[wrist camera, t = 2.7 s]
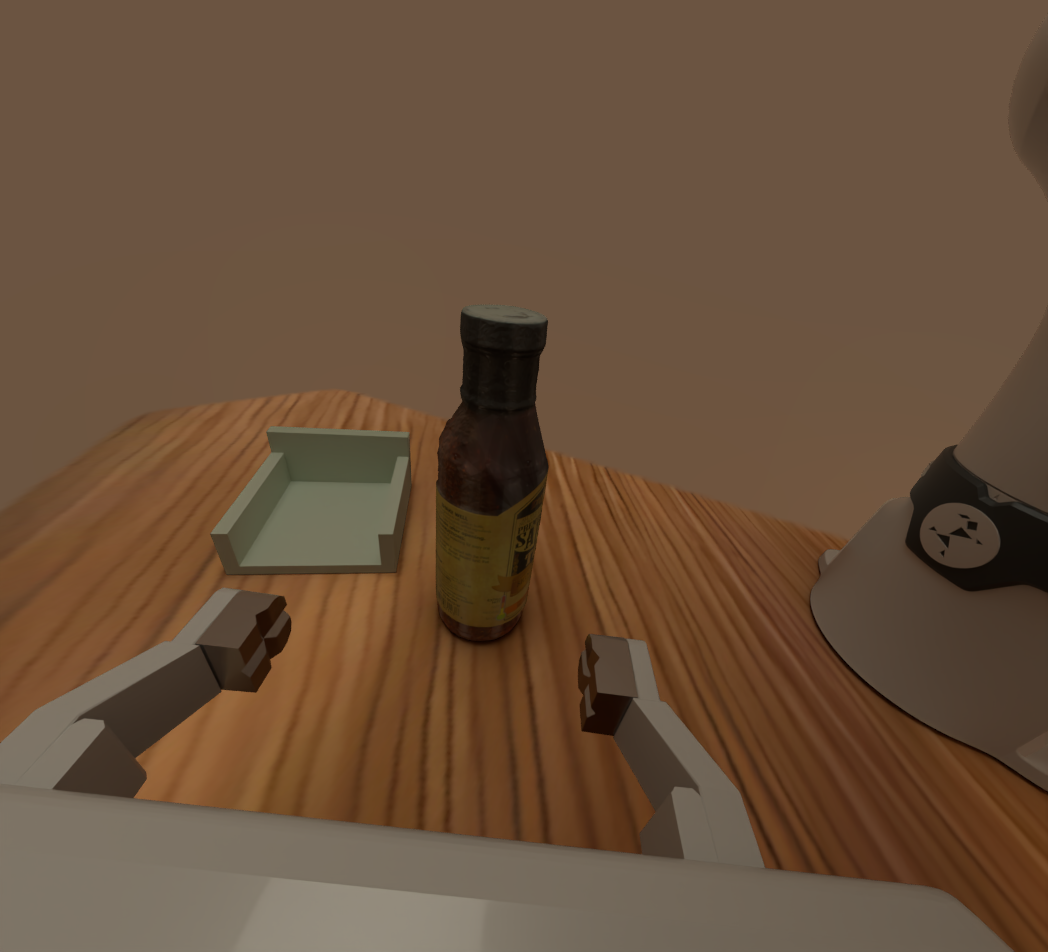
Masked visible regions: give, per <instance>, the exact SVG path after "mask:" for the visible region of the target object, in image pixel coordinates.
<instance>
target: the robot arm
mask: <svg viewBox="0 0 1048 952" xmlns="http://www.w3.org/2000/svg"><path fill="white" fill-rule="evenodd" d="M1008 118H1009V119H1008V124H1009V131H1010V138H1011V141H1012V144H1013V147H1014V150H1015V152H1016V154H1017V155H1018V157H1019V159H1020V161H1021V162H1022V163H1023V164H1024V166H1026V168H1027V169H1028V170H1029V171H1030V172H1031V174H1032V175H1033V176H1034V178H1035V179H1036V181H1037V183H1038V184H1039V186H1040V187H1041V189H1042V190H1043V192H1044V195H1045V197H1046V199H1047V201H1048V14H1047V15H1046V17H1045V19H1044V20H1043V22H1042V24H1041V25H1040V27H1039V28H1038V30H1037V32H1036V33H1035V35H1034V37H1033V39H1032V41H1031V43H1030V44H1029V46H1028V48H1027V50H1026V53H1025V55H1024V57H1023V59H1022V62H1021V64H1020V67H1019V70H1018V72H1017V75H1016V78H1015V81H1014V84H1013V88H1012V93H1011V98H1010V103H1009V117H1008ZM818 562H819V568H820V572H821V575H820V578H819V580H818V581H817V582H816V583H815V585H814V586H813V588H812V591H811V597H810V601H811V607H812V611H813V614H814V617H815V619H816V621H817V623H818V626H819V627H820V629H821V631H822V632H823V634H824V635H825V637H826V638H827V640H828V641H829V643H830V644H831V645H832V646H833V648H834V649H835V650H836V651H837V653H838V654H839V655H840V656H841V657H842V658H843V659H844V660H845V662H846V663H847V664H848V665H849V666H850V667H851V668H852V669H853V670H854V671H855V672H856V673H858V674H859V675H860V676H861V677H862V678H863V679H864V680H865V681H866V682H868V683H869V684H870V685H871V686H872V687H873V688H875V689H876V690H877V691H878V692H880V693H881V694H882V695H883V696H885V697H886V698H887V699H889V700H890V701H892V702H893V703H894V704H896V705H897V706H899V707H900V708H901V709H903V710H904V711H906V712H907V713H909V714H911V715H912V716H914V717H915V718H917V719H919V720H920V721H922V722H924V723H926V724H927V725H929V726H931V727H933V728H935V729H936V730H938V731H940V732H942V733H944V734H946V735H948V736H950V737H952V738H955V739H957V740H959V741H961V742H964V743H966V744H968V745H971V746H973V747H975V748H977V749H980V750H982V751H984V752H986V753H988V754H990V755H992V756H993V757H995V758H997V759H999V760H1000V761H1002V762H1003V763H1005V764H1006V765H1008V766H1009V767H1011V768H1012V769H1014V770H1015V771H1017V772H1018V773H1019V774H1021V775H1022V776H1024V777H1025V778H1027V779H1028V780H1030V781H1031V782H1033V783H1035V784H1036V785H1038V786H1039V787H1041V788H1042V789H1044V790H1046V791H1047V792H1048V306H1047V308H1046V311H1045V313H1044V316H1043V319H1042V320H1041V323H1040V325H1039V327H1038V329H1037V331H1036V333H1035V334H1034V337H1033V338H1032V340H1031V342H1030V344H1029V345H1028V347H1027V349H1026V350H1025V351H1024V354H1023V355H1022V356H1021V358H1020V359H1019V361H1018V362H1017V364H1016V365H1015V367H1014V369H1013V370H1012V372H1011V373H1010V375H1009V376H1008V377H1007V379H1006V380H1005V382H1004V383H1003V385H1002V386H1001V388H1000V389H999V391H998V392H997V394H996V395H995V396H994V398H993V399H992V401H991V402H990V403H989V405H988V406H987V407H986V409H985V410H984V412H983V413H982V414H981V416H980V417H979V419H978V420H977V421H976V422H975V424H974V425H973V426H972V428H971V429H970V430H969V431H968V433H967V434H966V435H965V437H964V438H963V439H962V440H961V442H960V443H959V444H958V445H954V446H950V447H947V448H945V449H944V450H943V451H942V453H941V454H940V455H939V456H938V457H937V458H936V459H935V460H934V461H932V462H931V463H929V465H928V466H927V467H926V468H925V470H924V471H923V472H922V474H921V478H920V479H919V480H918V481H917V483H916V484H915V485H914V487H913V488H912V489H911V492H910V497H902V498H897V499H896V498H893V499H890V500H888V501H887V502H885V503H884V504H883V505H882V506H881V507H880V508H879V509H878V510H877V511H876V512H875V514H874V515H873V516H872V517H871V518H870V519H869V520H868V521H867V522H866V523H865V524H864V525H863V526H862V527H861V529H860V530H859V531H858V532H857V533H856V534H855V535H854V536H853V537H852V539H850V541H849V542H848V543H847V544H846V545H845V546H844V547H843V548H842V549H841V550H833V549H829V550H826V551H825V552H824V553H823V554H822V555H821V556H820V557H819V561H818ZM286 605H287V604H286V601H285V598H284V596H278V595H271V594H264V593H257V592H250V591H244V590H237V589H229V588H222V589H220V590H218V591H217V592H215V593H214V594H213V595H212V597H211V598H210V599H209V600H208V601H207V602H206V603H205V604H204V605H203V607H202V608H201V609H200V610H199V611H198V612H197V613H196V614H195V616H194V617H193V618H192V619H191V620H190V621H189V622H188V623H187V624H186V626H185V627H184V628H183V629H182V630H181V631H180V632H179V633H178V635H177V636H176V637H175V638H174V639H173V640H172V641H171V642H169V641H164V642H162V643H161V644H159V645H157V646H155V647H153V648H151V649H149V650H147V651H146V652H144V653H142V654H140V655H138V656H136V657H134V658H132V659H130V660H129V661H127V662H125V663H123V664H121V665H119V666H117V667H115V668H114V669H112V670H110V671H108V672H106V673H104V674H102V675H100V676H98V677H97V678H95V679H93V680H91V681H89V682H87V683H85V684H83V685H82V686H80V687H78V688H76V689H74V690H72V691H70V692H68V693H66V694H65V695H63V696H61V697H59V698H57V699H55V700H53V701H51V702H50V703H48V704H46V705H44V706H42V707H40V708H38V709H36V710H35V711H34V712H33V713H32V714H31V715H29V716H28V717H27V718H26V719H25V720H24V721H23V722H22V723H21V724H20V725H19V726H18V727H17V728H16V729H15V730H14V731H13V732H12V733H11V734H10V735H9V736H8V737H6V738H5V739H4V740H3V741H2V742H1V743H0V952H1014V951H1013V950H1012V949H1011V948H1010V947H1009V946H1008V945H1007V944H1006V943H1005V942H1004V941H1003V940H1002V939H1001V938H1000V937H999V936H997V935H996V934H995V933H994V932H993V931H992V930H991V929H990V928H989V927H988V926H987V925H986V924H984V923H983V922H982V921H981V920H980V919H979V918H978V917H977V916H976V915H975V914H974V913H972V912H971V911H970V910H969V909H968V908H967V907H966V906H964V905H963V904H962V903H961V902H960V901H959V900H958V899H956V898H955V897H953V896H952V895H950V894H949V893H947V892H945V891H943V890H941V889H937V888H933V887H929V886H923V885H914V884H905V883H896V882H887V881H878V880H869V879H860V878H851V877H842V876H833V875H824V874H815V873H806V872H797V871H788V870H778V869H769V868H765V866H764V863H763V860H762V857H761V854H760V851H759V848H758V845H757V842H756V839H755V836H754V833H753V830H752V827H751V824H750V821H749V818H748V815H747V812H746V809H745V806H744V803H743V800H742V797H741V794H740V792H739V791H738V790H737V788H736V787H735V786H734V785H733V784H732V782H731V781H730V780H729V779H728V777H727V776H726V775H725V774H724V773H723V771H722V770H721V769H720V768H719V766H718V765H717V764H716V763H715V762H714V760H713V759H712V758H711V757H710V755H709V754H708V753H707V752H706V751H705V749H704V748H703V747H702V746H701V744H700V743H699V742H698V741H697V739H696V738H695V737H694V736H693V735H692V733H691V732H690V731H689V730H688V728H687V727H686V726H685V725H684V724H683V722H682V721H681V720H680V719H679V717H678V716H677V715H676V714H675V713H674V711H673V710H672V709H671V708H670V706H669V705H668V704H667V703H666V702H663V701H660V698H659V694H658V690H657V685H656V681H655V677H654V673H653V669H652V665H651V660H650V656H649V652H648V648H647V645H646V643H645V642H644V641H642V640H633V639H625V638H621V637H612V636H603V635H594V634H589V635H588V636H587V638H586V641H585V648H586V650H585V651H583V652H582V653H581V656H580V659H579V666H578V688H579V690H580V691H581V693H582V694H583V697H582V700H581V702H580V718H581V731H583V732H590V733H596V734H603V735H610V736H614V737H613V738H614V740H615V742H616V743H617V745H618V747H619V749H620V750H621V752H622V754H623V755H624V757H625V759H626V761H627V762H628V764H629V766H630V768H631V769H632V771H633V773H634V775H635V776H636V778H637V780H638V782H639V783H640V785H641V787H642V788H643V790H644V792H645V794H646V795H647V797H648V799H649V801H650V802H651V804H652V806H653V808H654V809H655V811H656V812H655V814H654V815H653V816H652V818H651V819H650V820H649V822H648V823H647V824H646V826H645V827H644V828H643V830H642V831H641V832H640V840H641V847H642V854H634V853H625V852H616V851H607V850H598V849H589V848H580V847H571V846H561V845H552V844H543V843H534V842H525V841H516V840H507V839H498V838H489V837H480V836H471V835H462V834H453V833H444V832H435V831H426V830H417V829H408V828H399V827H390V826H381V825H372V824H363V823H354V822H344V821H335V820H326V819H317V818H308V817H299V816H290V815H281V814H272V813H263V812H254V811H245V810H236V809H227V808H218V807H209V806H200V805H191V804H181V803H172V802H163V801H154V800H145V799H136V798H134V796H135V795H136V794H137V792H138V791H139V789H140V788H141V786H142V785H143V783H144V782H145V781H146V779H147V775H146V771H145V770H144V769H143V768H142V766H141V765H140V764H139V763H138V762H137V760H136V759H135V758H136V757H137V756H139V755H140V754H141V753H143V752H144V751H145V750H146V749H148V748H149V747H150V746H152V745H153V744H154V743H156V742H157V741H158V740H159V739H161V738H162V737H163V736H165V735H166V734H167V733H169V732H170V731H171V730H172V729H174V728H175V727H176V726H178V725H179V724H180V723H181V722H183V721H184V720H185V719H187V718H188V717H189V716H191V715H192V714H193V713H194V712H196V711H197V710H198V709H200V708H201V707H202V706H204V705H205V704H206V703H207V702H209V701H210V700H211V699H213V698H214V697H215V696H216V695H218V694H219V693H220V692H221V690H232V691H243V692H255V693H256V692H257V691H258V689H259V687H260V686H261V684H262V683H263V681H264V679H265V678H266V676H267V674H268V673H269V671H270V670H271V660H270V659H271V658H273V657H274V656H276V655H277V654H279V653H281V652H282V650H283V648H284V647H285V645H286V643H287V641H288V638H289V635H290V632H291V618H290V616H289V615H288V614H287V613H286V612H285V611H284V608H285V607H286Z"/></svg>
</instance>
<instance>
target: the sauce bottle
mask: <svg viewBox="0 0 1048 952" xmlns="http://www.w3.org/2000/svg"><path fill="white" fill-rule="evenodd" d="M547 325H548V320H547V318H546V317H545V316H544V315H542V314H540V313H538V312H535V311H531V310H528V309H524V308H519V307H514V306H505V305H471V306H467V307H464V308H463V310H462V312H461V325H460V332H461V333H460V334H461V340H462V345H463V349H464V357H463V384H462V386H461V387H460V392H461V398H462V403H461V404H460V406H459V407H458V409H457V410H456V412H455V413H454V415H453V416H452V418H451V419H449V420H448V421H447V423H446V426H445V428H444V430H443V432H442V434H441V436H440V438H439V448H438V452H437V454H438V462H439V463H438V464H439V465H438V471H439V473H438V480H437V482H436V596H437V600H438V610H439V613H440V617H441V618H442V620H443V622H444V623H445V625H446V626H447V628H448V629H449V630H450V631H451V632H453V633H455V634H456V635H457V636H459V637H462V638H465V639H468V640H476V641H489V640H494V639H497V638H499V637H502V636H503V635H505V634H507V633H508V632H509V631H510V630H511V629H512V628H513V627H514V626H515V625H516V623H517V622H518V620H519V618H520V616H521V615H522V609H523V607H524V606H525V603H526V600H527V596H528V590H529V583H530V578H531V572H532V566H533V560H534V554H535V550H536V543H537V536H538V530H539V525H540V519H541V512H542V505H543V499H544V494H545V488H546V481H547V474H548V468H549V467H548V462H547V458H546V454H545V449H544V445H543V440H542V436H541V431H540V427H539V422H538V417H537V412H536V406H535V401H536V383H537V376H538V371H539V358H540V354H541V353H542V351H543V349H544V347H545V344H546V336H547Z"/></svg>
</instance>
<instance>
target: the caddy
mask: <svg viewBox="0 0 1048 952" xmlns="http://www.w3.org/2000/svg"><path fill="white" fill-rule="evenodd" d="M267 436H268V440H269V444H270V448H271V452H272V453H271V454H270V455H269V457H268V458H267V459H266V461H265V462H264V463H263V465H262V466H261V467H260V468H259V470H258V471H257V472H256V474H255V475H254V476H253V478H252V479H251V480H250V482H249V483H248V484H247V486H246V487H245V488H244V490H243V491H242V492H241V494H240V495H239V496H238V498H237V499H236V500H235V502H234V503H233V504H232V506H231V507H230V508H229V510H228V511H227V512H226V514H225V515H224V516H223V518H222V519H221V520H220V522H219V523H218V524H217V526H216V527H215V528H214V530H213V531H212V532H211V534H210V535H211V537H212V540H213V542H214V545H215V547H216V550H217V552H218V555H219V557H220V560H221V562H222V565H223V567H224V569H225V572H226V574H227V575H235V574H312V573H389V572H396V569H397V564H398V558H399V552H400V547H401V541H402V535H403V530H404V524H405V519H406V513H407V507H408V502H409V496H410V490H411V462H410V439H409V432H392V431H368V430H345V429H321V428H298V427H274V426H271V427H270V428H269V429H268V430H267Z"/></svg>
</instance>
